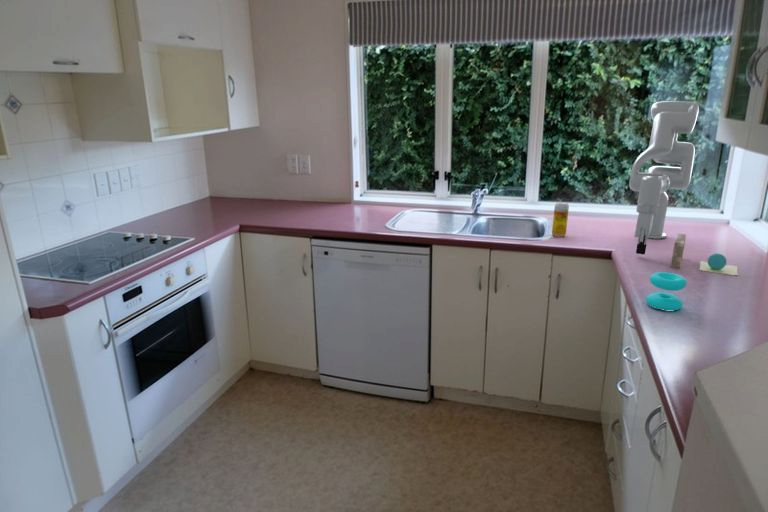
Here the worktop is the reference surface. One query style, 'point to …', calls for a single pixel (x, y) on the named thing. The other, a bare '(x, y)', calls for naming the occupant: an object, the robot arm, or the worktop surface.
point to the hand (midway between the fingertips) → (640, 253)
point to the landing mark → (726, 270)
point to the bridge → (678, 250)
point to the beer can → (560, 219)
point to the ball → (717, 261)
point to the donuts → (666, 283)
